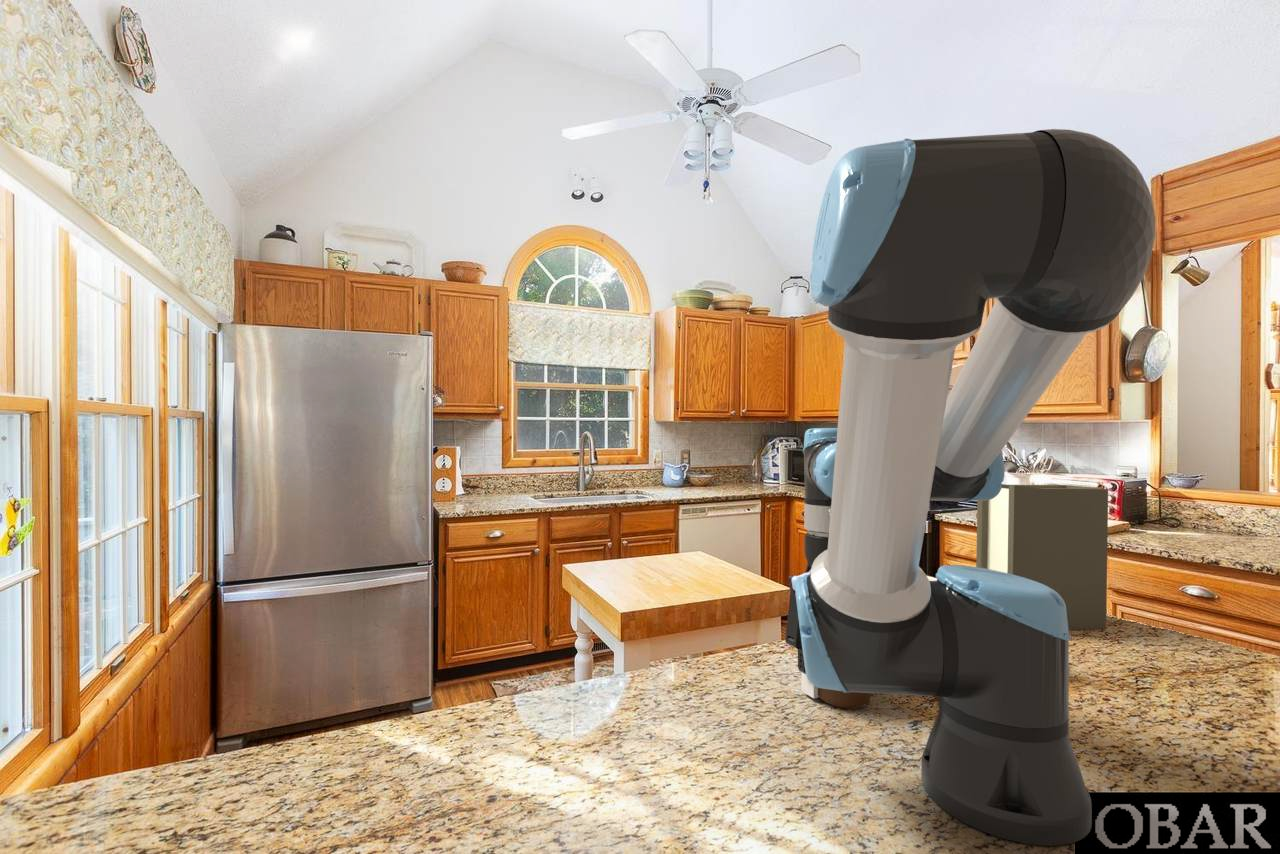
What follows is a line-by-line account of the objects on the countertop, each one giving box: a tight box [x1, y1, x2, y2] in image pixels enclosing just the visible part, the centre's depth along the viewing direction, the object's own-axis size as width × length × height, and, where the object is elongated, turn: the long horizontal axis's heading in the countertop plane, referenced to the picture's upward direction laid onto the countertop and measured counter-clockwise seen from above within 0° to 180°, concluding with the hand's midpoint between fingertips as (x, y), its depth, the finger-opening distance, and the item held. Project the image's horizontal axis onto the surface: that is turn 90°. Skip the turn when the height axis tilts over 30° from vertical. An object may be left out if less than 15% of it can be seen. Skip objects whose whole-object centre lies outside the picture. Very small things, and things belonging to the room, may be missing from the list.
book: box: [975, 483, 1109, 631], centre depth 118 cm, size 22×9×28 cm, turn 100°
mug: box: [818, 688, 872, 709], centre depth 88 cm, size 12×8×9 cm, turn 14°
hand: (832, 689), depth 88 cm, fingers closed on mug, 7 cm apart
